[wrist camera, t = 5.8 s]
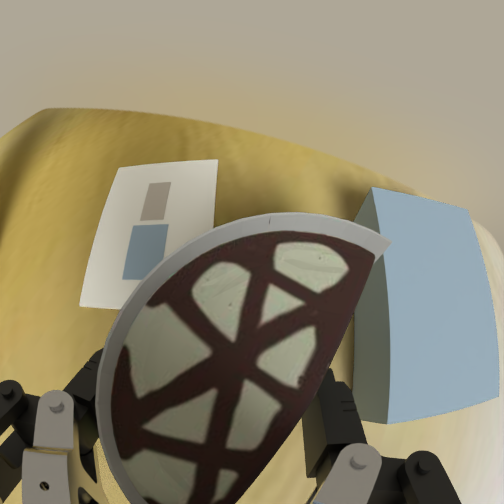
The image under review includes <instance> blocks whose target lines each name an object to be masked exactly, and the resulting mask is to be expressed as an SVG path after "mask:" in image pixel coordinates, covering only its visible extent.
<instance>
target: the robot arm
mask: <svg viewBox="0 0 504 504" xmlns="http://www.w3.org/2000/svg"><path fill="white" fill-rule="evenodd" d="M103 349H104V348H102V349H100V350H98V351H97V352H95V353H94V355H93V356H92V357H91V358H90V359H89V362H88V361H87V363H86V364H85V365H84V367H83V368H81V370H80V371H79V372H78V373H77V374H76V375H75V377H74V378H73V379H72V380H71V381H70V383H69V384H68V385H67V386H66V387H65V389H64V390H63V391H61V390H53V391H49V392H47V393H45V394H44V395H43V396H42V397H39V396H34V395H30V394H25V392H24V390H23V389H22V387H21V385H20V384H19V383H18V382H16V381H14V380H6V381H3V382H1V383H0V436H1V435H2V434H3V433H4V431H5V430H6V429H7V428H8V427H9V426H10V425H12V427H13V428H14V431H13V433H12V434H11V435H10V436H9V437H8V438H7V439H6V440H5V441H4V442H3V443H2V444H1V446H0V504H3V503H4V501H5V500H6V499H7V497H8V496H9V495H10V493H11V492H12V491H13V489H14V488H15V487H16V485H17V484H18V483H19V482H20V480H21V479H22V503H23V504H109V502H108V499H107V497H106V495H105V493H104V490H103V488H102V483H101V477H100V471H99V464H98V456H97V447H96V444H95V443H96V441H97V439H98V438H99V432H98V425H97V417H96V408H95V399H96V384H97V373H98V368H99V364H100V360H101V356H102V353H103ZM302 427H303V438H304V450H305V462H306V476H307V478H315V477H316V483H317V486H316V487H315V488H314V490H313V492H312V493H311V495H310V496H309V498H308V499H307V501H306V503H305V504H461V502H460V500H459V498H458V495H457V493H456V491H455V489H454V487H453V485H452V483H451V481H450V479H449V477H448V475H447V473H446V471H445V470H444V468H443V466H442V464H441V462H440V460H439V459H438V457H437V456H436V455H435V454H433V453H431V452H429V451H417V452H414V453H412V454H411V455H410V456H409V457H408V458H407V459H397V458H388V457H383V456H380V454H379V452H378V451H377V450H376V449H375V448H374V447H372V446H370V445H368V443H367V441H366V437H365V434H364V430H363V427H362V424H361V420H360V417H359V414H358V412H357V407H356V404H355V403H354V397H353V394H352V391H351V390H350V389H349V387H348V386H347V385H346V384H345V383H344V382H335V378H334V374H333V371H332V369H331V368H328V370H327V373H326V375H325V377H324V379H323V381H322V383H321V385H320V387H319V389H318V391H317V393H316V395H315V397H314V398H313V400H312V402H311V403H310V405H309V406H308V408H307V410H306V411H305V413H304V414H303V416H302Z"/></svg>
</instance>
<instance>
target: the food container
mask: <svg viewBox="0 0 504 504" xmlns="http://www.w3.org/2000/svg"><path fill="white" fill-rule="evenodd" d="M391 243H392V241H391V240H389V239H388V238H386V237H384V236H382V235H381V234H379V233H377V232H375V231H373V230H371V229H369V228H366V227H364V226H361V225H359V224H356V223H354V222H351V221H348V220H344V219H340V218H336V217H332V216H328V215H322V214H313V213H303V212H285V213H268V214H263V215H257V216H252V217H246V218H242V219H239V220H236V221H233V222H230V223H227V224H224V225H221V226H218V227H215V228H213V229H211V230H209V231H207V232H205V233H203V234H201V235H199V236H197V237H195V238H193V239H191V240H189V241H188V242H186V243H185V244H183V245H182V246H181V247H179V248H178V249H176V250H175V251H174V252H172V253H171V254H170V255H168V256H167V257H165V258H164V259H163V260H162V261H161V262H160V263H159V264H158V265H157V266H156V267H155V268H154V269H153V270H152V271H151V272H150V273H149V274H148V275H147V276H146V277H145V278H144V279H143V280H142V281H141V282H140V283H139V284H138V285H137V287H136V288H135V290H134V291H133V292H132V294H131V295H130V297H129V298H128V299H127V301H126V302H125V304H124V305H123V306H122V308H121V309H120V311H119V314H118V316H117V318H116V320H115V322H114V324H113V326H112V328H111V330H110V332H109V334H108V337H107V339H106V342H105V346H104V349H103V353H102V356H101V360H100V364H99V368H98V373H97V384H96V399H95V408H96V417H97V425H98V432H99V438H100V442H101V445H102V448H103V451H104V454H105V457H106V460H107V463H108V466H109V468H110V471H111V472H112V474H113V476H114V478H115V480H116V481H117V483H118V485H119V487H120V488H121V490H122V492H123V493H124V495H125V497H126V498H127V499H128V501H129V502H130V503H131V504H235V503H236V502H237V501H238V500H239V499H240V498H241V496H242V495H243V494H244V493H245V492H246V490H247V489H248V488H249V487H250V486H251V484H252V483H253V482H254V481H255V479H256V478H257V477H258V476H259V474H260V473H261V472H262V471H263V469H264V468H265V467H266V465H267V464H268V463H269V462H270V460H271V459H272V458H273V456H274V455H275V453H276V452H277V451H278V449H279V448H280V447H281V445H282V444H283V443H284V441H285V440H286V439H287V437H288V436H289V435H290V433H291V432H292V430H293V429H294V427H295V426H296V425H297V423H298V422H299V420H300V419H301V417H302V416H303V414H304V413H305V411H306V410H307V408H308V406H309V405H310V403H311V402H312V400H313V398H314V397H315V395H316V393H317V391H318V389H319V387H320V385H321V383H322V381H323V379H324V377H325V375H326V373H327V370H328V368H329V366H330V364H331V362H332V360H333V357H334V355H335V353H336V351H337V349H338V347H339V345H340V342H341V340H342V338H343V336H344V334H345V331H346V329H347V327H348V324H349V322H350V320H351V318H352V315H353V313H354V311H355V309H356V306H357V304H358V301H359V299H360V297H361V294H362V292H363V289H364V287H365V284H366V282H367V279H368V277H369V274H370V271H371V269H372V266H373V264H374V263H375V262H376V261H377V260H378V259H379V257H380V256H381V255H382V254H383V253H384V252H385V250H386V249H387V248H388V247H389V246H390V244H391Z"/></svg>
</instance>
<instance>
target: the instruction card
mask: <svg viewBox="0 0 504 504" xmlns="http://www.w3.org/2000/svg"><path fill="white" fill-rule="evenodd" d="M217 171H218V159H216V160H195V161H180V162H167V163H156V164H146V165H137V166H129V167H121V168H119V169H118V171H117V174H116V176H115V179H114V182H113V184H112V187H111V190H110V192H109V195H108V198H107V201H106V204H105V207H104V210H103V213H102V216H101V219H100V222H99V225H98V228H97V232H96V235H95V239H94V242H93V246H92V250H91V253H90V257H89V261H88V265H87V269H86V274H85V278H84V283H83V288H82V293H81V298H80V303H79V306H80V307H91V308H104V309H119V310H120V309H121V308H122V306H123V305H124V304H125V302H126V301H127V299H128V298H129V297H130V295H131V294H132V292H133V291H134V290H135V288H136V287H137V285H138V284H139V283H140V282H141V281H142V280H143V279H144V278H145V277H146V276H147V275H148V274H149V273H150V272H151V271H152V270H153V269H154V268H155V267H156V266H157V265H158V264H159V263H160V262H161V261H162V260H163V259H164V258H165V257H167V256H168V255H170V254H171V253H172V252H174V251H175V250H176V249H178V248H179V247H181V246H182V245H183V244H185V243H186V242H188V241H189V240H191V239H193V238H195V237H197V236H199V235H201V234H203V233H205V232H207V231H209V230H211V229H213V227H214V211H215V197H216V184H217Z"/></svg>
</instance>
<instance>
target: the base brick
mask: <svg viewBox="0 0 504 504" xmlns="http://www.w3.org/2000/svg"><path fill="white" fill-rule="evenodd" d="M354 223H356V224H359V225H361V226H364V227H366V228H369V229H371V230H373V231H375V232H377V233H379V234H381V235H382V236H384V237H386V238H388V239H389V240H391V241H392V243H391V244H390V246H389V247H388V248H387V249H386V250H385V252H384V253H383V254H382V255H381V256H380V257H379V259H378V260H377V261H376V262H375V263H374V264H373V266H372V269H371V271H370V274H369V277H368V279H367V282H366V284H365V287H364V289H363V292H362V294H361V297H360V299H359V301H358V304H357V306H356V309H355V311H354V373H353V390H352V394H353V397H354V403H355V404H356V407H357V412H358V414H359V417H360V420H363V421H368V422H375V423H381V424H393V423H400V422H406V421H412V420H417V419H422V418H427V417H432V416H436V415H440V414H445V413H449V412H452V411H456V410H460V409H463V408H466V407H470V406H473V405H476V404H479V403H482V402H485V401H488V400H491V399H493V398H496V397H499V352H498V339H497V329H496V321H495V314H494V307H493V301H492V295H491V290H490V285H489V281H488V276H487V272H486V268H485V264H484V260H483V256H482V253H481V249H480V246H479V242H478V239H477V236H476V233H475V230H474V227H473V224H472V221H471V218H470V216H469V213H468V210H467V209H463V208H460V207H457V206H453V205H449V204H446V203H442V202H438V201H434V200H430V199H426V198H422V197H418V196H413V195H409V194H405V193H400V192H395V191H391V190H386V189H381V188H376V187H371V188H370V190H369V192H368V194H367V196H366V198H365V200H364V202H363V204H362V206H361V208H360V210H359V212H358V214H357V216H356V218H355V220H354Z"/></svg>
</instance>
